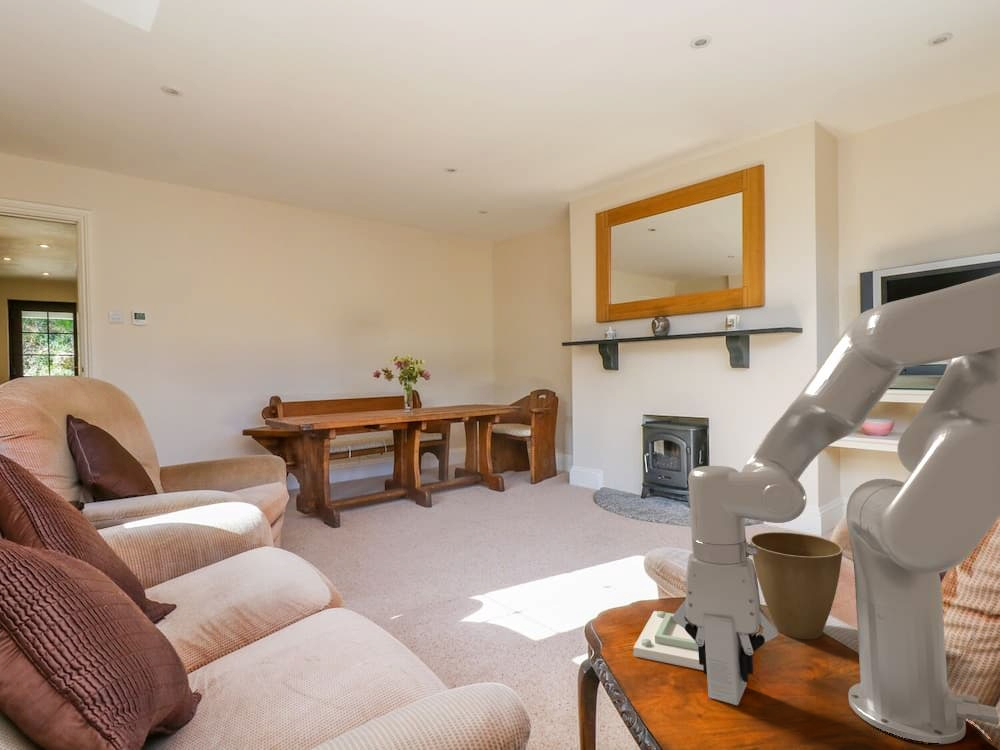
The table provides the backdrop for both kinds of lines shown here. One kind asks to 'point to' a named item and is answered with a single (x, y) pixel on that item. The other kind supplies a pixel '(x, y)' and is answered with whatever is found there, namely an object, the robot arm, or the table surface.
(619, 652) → the table surface
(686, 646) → the baseplate
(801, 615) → the plant pot
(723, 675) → the skincare box
